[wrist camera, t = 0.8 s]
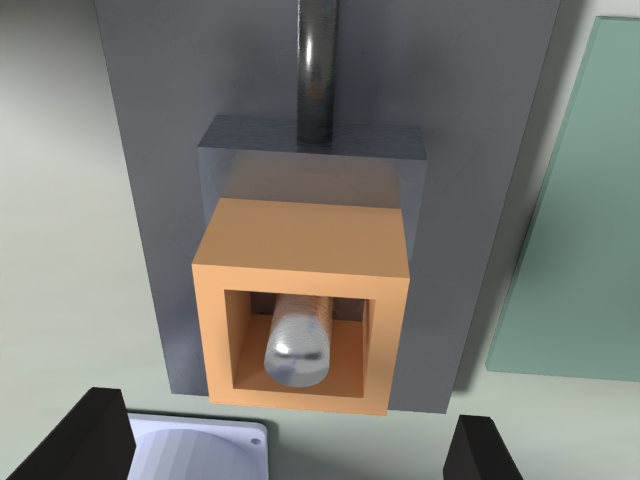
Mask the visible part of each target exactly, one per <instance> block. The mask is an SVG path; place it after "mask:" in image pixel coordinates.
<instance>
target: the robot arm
mask: <svg viewBox="0 0 640 480" xmlns="http://www.w3.org/2000/svg"><path fill="white" fill-rule="evenodd" d="M443 478H444V480H523V478H522V476H521V474H520V472H519V471H518V469H517V467H516V465H515V463H514V461H513V459H512V457H511V456H510V454H509V452H508V450H507V448H506V446H505V444H504V442H503V440H502V438H501V436H500V434H499V432H498V430H497V428H496V426H495V424H494V422H493V420H492V419H491V418H490V417H485V416H471V415H460V416H459V419H458V422H457V425H456V429H455V432H454V435H453V439H452V442H451V445H450V448H449V452H448V455H447V458H446V462H445V465H444V468H443ZM6 480H269V472H268V445H267V429H266V427H265V426H264V425H262V424H260V423H253V422H240V421H227V420H214V419H200V418H187V417H174V416H161V415H148V414H134V413H127V410H126V407H125V403H124V400H123V396H122V393H121V389H112V388H98V387H92V388H91V389H89V390H88V391H87V392H86V394H85V395H84V396H83V397H82V398H81V399H80V400H79V401H78V402H77V404H76V405H75V406H74V407H73V408H72V409H71V410H70V411H69V413H68V414H67V415H66V416H65V417H64V418H63V419H62V420H61V421H60V423H59V424H58V425H57V426H56V427H55V428H54V429H53V430H52V431H51V432H50V433H49V435H48V436H47V437H46V438H45V439H44V440H43V441H42V442H41V443H40V444H39V445H38V446H37V448H36V449H35V450H34V451H33V452H32V453H31V454H30V455H29V456H28V457H27V458H26V459H25V460H24V461H23V462H22V463H21V464H20V465H19V466H18V467H17V468H16V469H15V471H14V472H13V473H12V474H11V475H10V476H9V477H8V478H7V479H6Z"/></svg>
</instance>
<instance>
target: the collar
mask: <svg viewBox="0 0 640 480" xmlns="http://www.w3.org/2000/svg"><path fill="white" fill-rule="evenodd" d="M192 271H193V279H194V286H195V294H196V301H197V309H198V316H199V324H200V331H201V339H202V346H203V354H204V361H205V369H206V376H207V384H208V391H209V398H210V403H217V404H230V405H243V406H257V407H270V408H284V409H297V410H310V411H324V412H337V413H350V414H364V415H377V416H386V414H387V408H388V402H389V396H390V391H391V385H392V379H393V373H394V368H395V362H396V356H397V350H398V345H399V339H400V333H401V327H402V322H403V316H404V310H405V304H406V299H407V293H408V287H409V281H410V275H409V267H408V259H407V251H406V243H405V235H404V227H403V219H402V211H401V209H390V208H374V207H358V206H342V205H326V204H310V203H295V202H279V201H263V200H247V199H231V198H220V199H219V201H218V204H217V206H216V208H215V211H214V213H213V215H212V218H211V220H210V222H209V225H208V227H207V229H206V232H205V234H204V236H203V238H202V241H201V243H200V245H199V248H198V250H197V252H196V255H195V257H194V259H193V262H192ZM250 291H256V292H271V293H285V294H300V295H315V296H329V297H344V298H359V299H365V306H364V315H363V322H359V321H344V320H332V325H331V341H330V357H329V370H328V373H327V375H326V377H325V378H324V379H323V380H322V381H320V382H319V383H317V384H315V385H312V386H308V387H291V386H287V385H283V384H281V383H279V382H277V381H275V380H274V379H273V378H271V377H270V376H269V374H268V373H267V371H266V370H265V367H264V359H265V354H266V349H267V344H268V339H269V334H270V329H271V324H272V319H273V316H272V315H258V314H251V297H250Z"/></svg>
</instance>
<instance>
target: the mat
mask: <svg viewBox="0 0 640 480" xmlns="http://www.w3.org/2000/svg"><path fill="white" fill-rule="evenodd" d="M485 365H486V369H487V371H494V372H508V373H522V374H536V375H550V376H564V377H578V378H592V379H606V380H620V381H634V382H640V18H622V17H603V16H596V18H595V22H594V25H593V28H592V31H591V34H590V37H589V40H588V44H587V47H586V50H585V53H584V56H583V59H582V62H581V65H580V69H579V72H578V75H577V78H576V81H575V84H574V87H573V90H572V94H571V97H570V100H569V103H568V106H567V109H566V112H565V116H564V119H563V122H562V125H561V128H560V131H559V134H558V137H557V141H556V144H555V147H554V150H553V153H552V156H551V159H550V162H549V166H548V169H547V172H546V175H545V178H544V181H543V184H542V187H541V191H540V194H539V197H538V200H537V203H536V206H535V209H534V213H533V216H532V219H531V222H530V225H529V228H528V231H527V234H526V238H525V241H524V244H523V247H522V250H521V253H520V256H519V259H518V263H517V266H516V269H515V272H514V275H513V278H512V281H511V285H510V288H509V291H508V294H507V297H506V300H505V303H504V306H503V310H502V313H501V316H500V319H499V322H498V325H497V328H496V331H495V335H494V338H493V341H492V344H491V347H490V350H489V353H488V356H487V360H486V363H485Z"/></svg>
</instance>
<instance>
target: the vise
mask: <svg viewBox="0 0 640 480" xmlns="http://www.w3.org/2000/svg"><path fill="white" fill-rule="evenodd" d="M560 1H561V0H94V3H95V8H96V13H97V18H98V23H99V28H100V33H101V38H102V43H103V49H104V54H105V59H106V64H107V69H108V74H109V79H110V84H111V89H112V94H113V99H114V104H115V109H116V114H117V120H118V125H119V130H120V135H121V140H122V145H123V150H124V155H125V160H126V165H127V170H128V175H129V180H130V185H131V191H132V196H133V201H134V206H135V211H136V216H137V221H138V226H139V231H140V236H141V241H142V246H143V251H144V256H145V262H146V267H147V272H148V277H149V282H150V287H151V292H152V297H153V302H154V307H155V312H156V317H157V322H158V327H159V333H160V338H161V343H162V348H163V353H164V358H165V363H166V368H167V373H168V378H169V383H170V388H171V393H172V394H184V395H198V396H209V391H208V384H207V376H206V369H205V361H204V354H203V346H202V339H201V331H200V324H199V316H198V309H197V301H196V294H195V286H194V279H193V271H192V262H193V259H194V257H195V255H196V252H197V250H198V248H199V245H200V243H201V241H202V238H203V236H204V234H205V232H206V229H207V227H208V225H209V222H210V220H211V218H212V215H213V213H214V211H215V208H216V206H217V204H218V201H219V199H220V198H231V199H247V200H263V201H279V202H295V203H310V204H326V205H342V206H358V207H374V208H390V209H401V211H402V219H403V227H404V235H405V243H406V251H407V259H408V267H409V275H410V281H409V287H408V293H407V299H406V304H405V310H404V316H403V322H402V327H401V333H400V339H399V345H398V350H397V356H396V362H395V368H394V373H393V379H392V385H391V391H390V396H389V402H388V408H387V410H399V411H413V412H426V413H440V414H446V411H447V407H448V404H449V400H450V397H451V393H452V390H453V386H454V382H455V379H456V375H457V372H458V368H459V364H460V361H461V357H462V354H463V350H464V346H465V343H466V339H467V336H468V332H469V328H470V325H471V321H472V318H473V314H474V310H475V307H476V303H477V300H478V296H479V293H480V289H481V285H482V282H483V278H484V275H485V271H486V267H487V264H488V260H489V257H490V253H491V249H492V246H493V242H494V239H495V235H496V231H497V228H498V224H499V221H500V217H501V213H502V210H503V206H504V203H505V199H506V195H507V192H508V188H509V185H510V181H511V178H512V174H513V170H514V167H515V163H516V160H517V156H518V152H519V149H520V145H521V142H522V138H523V134H524V131H525V127H526V124H527V120H528V116H529V113H530V109H531V106H532V102H533V98H534V95H535V91H536V88H537V84H538V80H539V77H540V73H541V70H542V66H543V63H544V59H545V55H546V52H547V48H548V45H549V41H550V37H551V34H552V30H553V27H554V23H555V19H556V16H557V12H558V9H559V5H560ZM250 297H251V314H258V315H272V316H273V319H272V324H271V329H270V334H269V339H268V344H267V349H266V354H265V359H264V367H265V370H266V371H267V373H268V374H269V376H270V377H271V378H273V379H274V380H275V381H277V382H279V383H281V384H283V385H287V386H291V387H308V386H312V385H315V384H317V383H319V382H320V381H322V380H323V379H324V378H325V377H326V375H327V373H328V370H329V357H330V341H331V325H332V320H344V321H359V322H363V315H364V306H365V299H359V298H344V297H329V296H315V295H300V294H285V293H271V292H256V291H250Z"/></svg>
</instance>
